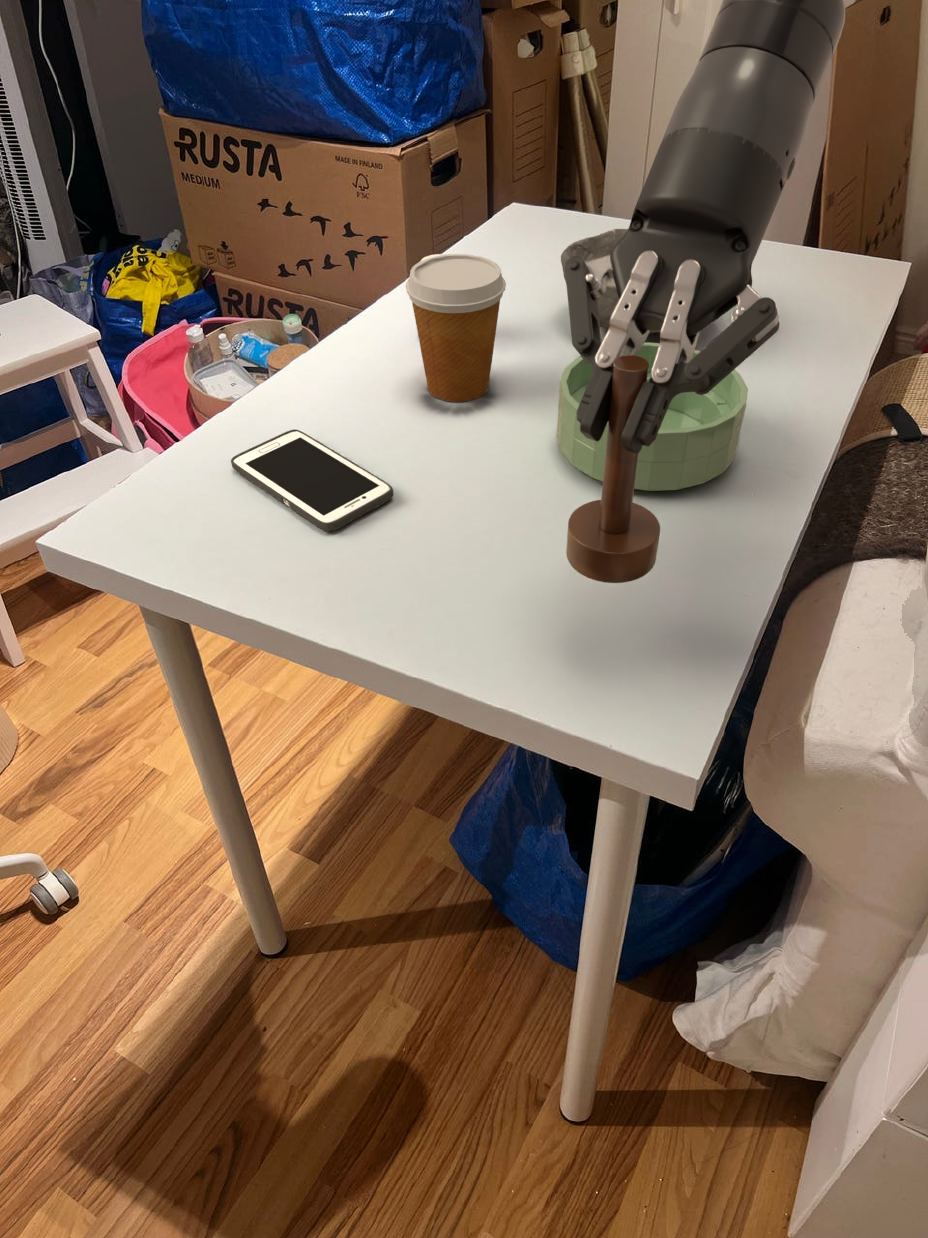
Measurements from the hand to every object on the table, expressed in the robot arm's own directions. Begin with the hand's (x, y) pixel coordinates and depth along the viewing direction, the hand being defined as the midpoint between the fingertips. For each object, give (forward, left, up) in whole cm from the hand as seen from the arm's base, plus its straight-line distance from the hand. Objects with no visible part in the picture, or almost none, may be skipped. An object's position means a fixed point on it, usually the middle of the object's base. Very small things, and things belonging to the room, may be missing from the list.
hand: (609, 441), depth 54 cm
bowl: (+3, -54, -18) cm, 57 cm away
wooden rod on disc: (-1, -2, -10) cm, 10 cm away
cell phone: (+27, -15, -17) cm, 36 cm away
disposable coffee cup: (+19, -35, -18) cm, 44 cm away
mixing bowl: (-1, -28, -17) cm, 33 cm away
